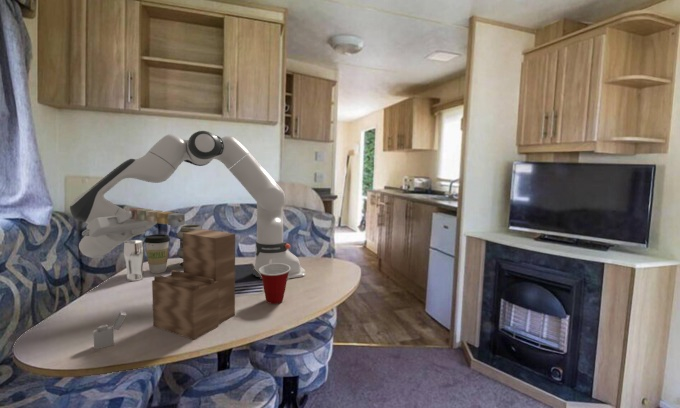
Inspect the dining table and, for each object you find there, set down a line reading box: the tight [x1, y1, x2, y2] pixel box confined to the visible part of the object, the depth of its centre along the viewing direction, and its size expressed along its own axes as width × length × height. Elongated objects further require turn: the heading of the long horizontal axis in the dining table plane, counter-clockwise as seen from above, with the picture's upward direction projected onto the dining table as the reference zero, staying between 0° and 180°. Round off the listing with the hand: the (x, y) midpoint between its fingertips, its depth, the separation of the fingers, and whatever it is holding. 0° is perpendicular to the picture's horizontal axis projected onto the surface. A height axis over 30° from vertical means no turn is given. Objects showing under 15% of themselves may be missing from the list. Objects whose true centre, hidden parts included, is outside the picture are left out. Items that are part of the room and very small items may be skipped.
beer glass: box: [123, 239, 145, 282], centre depth 139 cm, size 7×7×15 cm
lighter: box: [93, 311, 127, 350], centre depth 91 cm, size 7×2×8 cm, turn 126°
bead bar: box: [128, 207, 186, 227], centre depth 103 cm, size 20×3×3 cm, turn 65°
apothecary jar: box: [176, 223, 202, 268], centre depth 161 cm, size 12×12×18 cm
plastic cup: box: [259, 263, 290, 305], centre depth 123 cm, size 11×11×12 cm
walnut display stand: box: [151, 228, 236, 341], centre depth 104 cm, size 16×17×26 cm
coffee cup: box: [143, 233, 171, 274], centre depth 150 cm, size 10×10×15 cm
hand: (139, 212), depth 106 cm, fingers closed on bead bar, 3 cm apart
